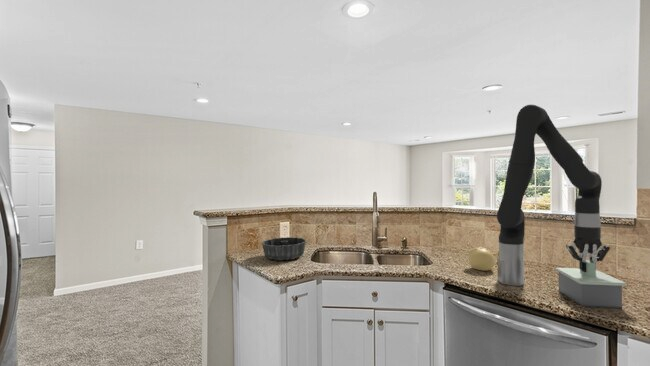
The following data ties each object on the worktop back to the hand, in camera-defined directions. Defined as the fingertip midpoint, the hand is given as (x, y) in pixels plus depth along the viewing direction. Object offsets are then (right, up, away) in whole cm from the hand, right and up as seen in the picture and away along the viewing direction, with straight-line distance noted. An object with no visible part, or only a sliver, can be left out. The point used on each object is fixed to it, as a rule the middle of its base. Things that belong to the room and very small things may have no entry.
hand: (587, 271), depth 119 cm
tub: (0, -10, 0) cm, 10 cm away
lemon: (-1, -10, +54) cm, 54 cm away
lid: (0, -3, 0) cm, 3 cm away
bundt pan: (-121, -12, +73) cm, 142 cm away
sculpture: (-19, -10, +41) cm, 46 cm away
